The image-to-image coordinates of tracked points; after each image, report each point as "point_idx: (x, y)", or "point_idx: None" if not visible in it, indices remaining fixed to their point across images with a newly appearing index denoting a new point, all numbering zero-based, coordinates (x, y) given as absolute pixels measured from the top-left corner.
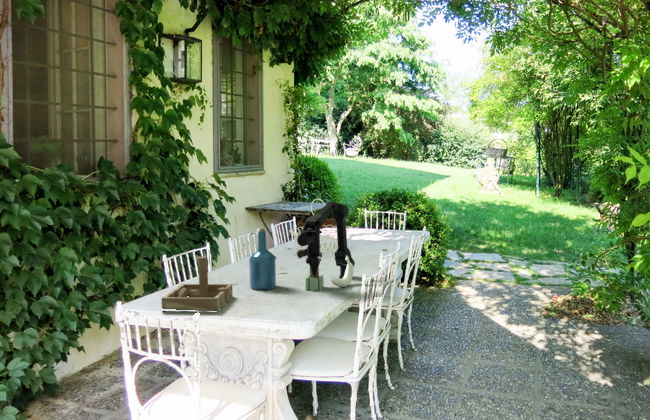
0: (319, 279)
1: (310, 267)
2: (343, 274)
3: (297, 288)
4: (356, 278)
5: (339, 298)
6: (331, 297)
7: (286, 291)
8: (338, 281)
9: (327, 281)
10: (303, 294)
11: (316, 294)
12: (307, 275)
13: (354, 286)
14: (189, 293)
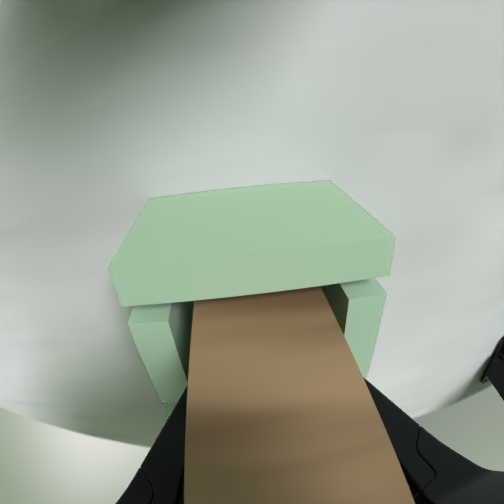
0: (167, 403)
1: (189, 486)
2: (501, 371)
3: (233, 80)
4: (474, 393)
5: (47, 416)
6: (40, 391)
7: (79, 14)
8: None
9: (474, 299)
10: (12, 220)
11: (52, 316)
12: (348, 248)
13: None
14: None
